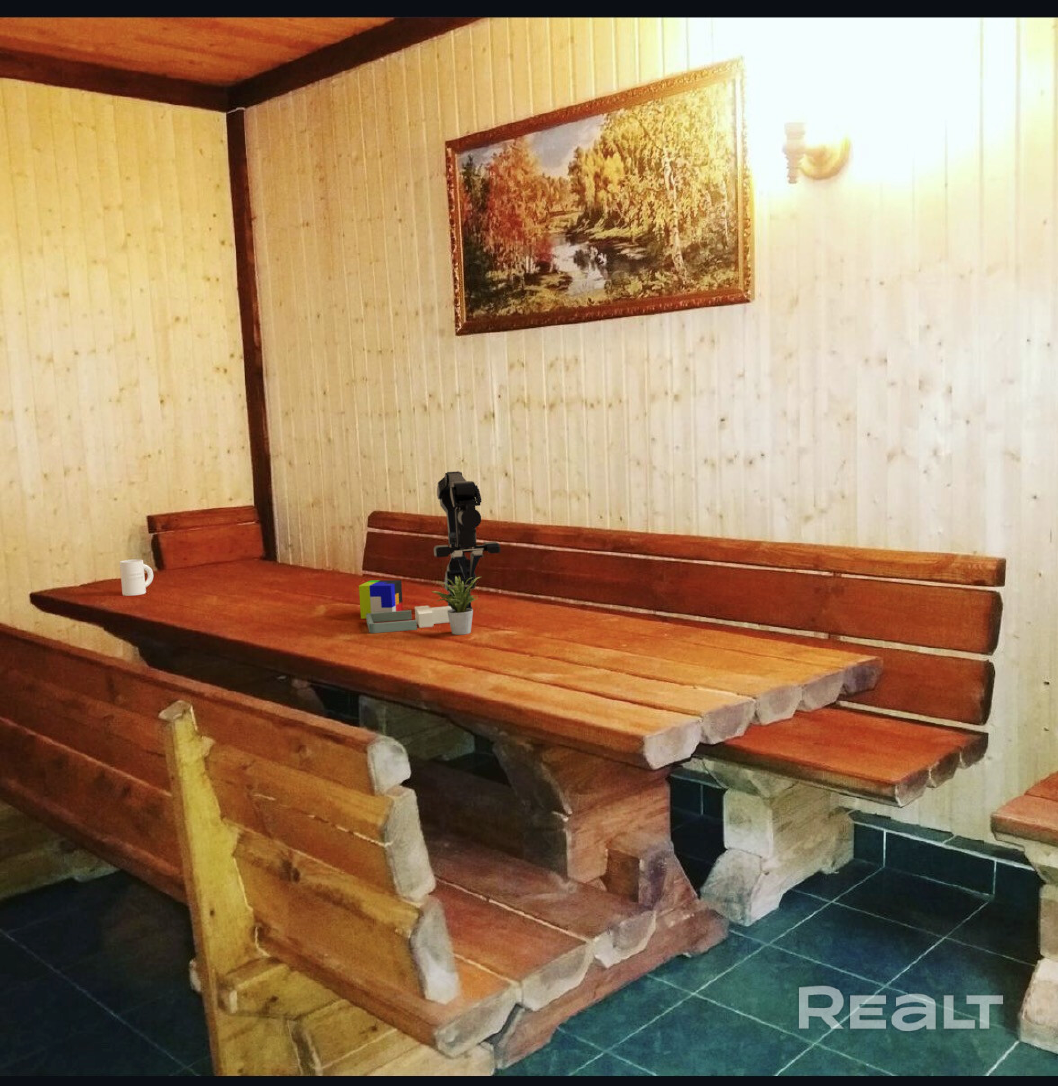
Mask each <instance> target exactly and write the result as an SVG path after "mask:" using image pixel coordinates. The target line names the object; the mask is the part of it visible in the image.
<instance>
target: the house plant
mask: <svg viewBox="0 0 1058 1086" xmlns="http://www.w3.org/2000/svg"><path fill="white" fill-rule="evenodd" d="M472 578H473V577H472ZM480 578H481V576H478V577H476V578H475V579H474V580H473V581H472V582H471V583H470V585H469V586H468V588H467V589H466V590H465V592H464V588H465V585H466V583H467V581H468V580H469V579H471V578H469V579H468V580H467V581H466V583H465V585H464V583H463V581H462V586H461V579H460V576H459V579H458V578H457V577H456V576H455V580H456V586H455V585H454V584H453V582H451V581H450V580H449V579H448V578H447V579H448V580H449V581H450V582H451V583H452V585H453V587H454V589H452V588H451V587H450V586H451V585H448V584H447V583H445V581H440V580H439V581H438V580H437V582H439V584H438V585H441V586H442V587H443V588H444V589H445V590H446V591H447V589H446V588H445V586H446V585H447V586H448V587H449V588H450V590H451V591H452V592H453V593H454V595H455V596H453V594H452V593H450V592H451V591H450V590H448V591H447V592H448V593H447V594H449V593H450V594H451V595H452V596H451V597H450V596H449V595H447V594H446V593H443V592H441V591H436V590H432V591H431V593H434V594H437V596H439V597H440V599H438V600H437V602H439V601H445V602H446V603H447V604H448V603H449V604H450V603H451V604H450V605H451V606H452V607H453V606H454V607H453V609H451V610H448V611H447V612H448V617H449V622H448V623H449V625H450V626H449V627H450V630H451V634H452V635H458V636H460V635H461V636H462V635H468V634H470V633H471V632H472V624H473V623H472V622H473V614H474V609H473V608H472V609H469V608H467V606H468V604H469V603H470V602H471V603H472V602H473V601H477V600H479V597H478V595H476V597H475V595H472V594H471V595H470V596H469V594H470V593H471V592H472V590H473V589H470V588H471V586H472V585H473V583H474V582H475V583H476V582H477V580H478V579H480ZM447 586H446V587H447ZM448 587H447V588H448ZM474 587H475V588H476V585H475V586H474ZM474 587H473V588H474ZM449 588H448V589H449ZM475 588H474V589H475ZM469 590H470V593H469ZM468 593H469V594H468ZM461 594H462V598H461ZM467 596H468V597H467ZM452 597H453V598H454V599H453V598H452ZM466 598H467V599H466Z"/></svg>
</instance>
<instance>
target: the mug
mask: <svg viewBox="0 0 1058 1086" xmlns="http://www.w3.org/2000/svg"><path fill="white" fill-rule="evenodd" d="M119 569H120V581H121V591H122V592H121V593H122V596H126V597H127V596H139V595H144V594H146V593H147V589H146V588H148V586H149V585H151V584H152V582H153V579H154V571H153V569H152V567H150V565H148V564H145V563H144V560H143V559H141V558H140V559H139V558H138V559H137V558H136V559H135V558H134V559H126V560H120V561H119ZM145 571H146V573H147V578H145ZM145 579H146V580H145Z"/></svg>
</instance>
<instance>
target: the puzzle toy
mask: <svg viewBox="0 0 1058 1086" xmlns="http://www.w3.org/2000/svg"><path fill="white" fill-rule="evenodd" d="M358 593H359V596H358V597H359V607H360V611H359V612H360V619H366V614H368V613H381V612H394V611H404V607H403V606H404V604H403V588H402V580H401V579H392V580H391V579H389V580H387V579H383V580H382V579H381V580H379V579H377V580H374V579H373V580H369V581H366V582H364V583H362V584H360V585H358Z"/></svg>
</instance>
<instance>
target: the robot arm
mask: <svg viewBox="0 0 1058 1086" xmlns="http://www.w3.org/2000/svg"><path fill="white" fill-rule="evenodd" d="M436 496H437V500H439V504H440V505H439V506H440V508H441V509H442V510H443V511H444V513H445V515H446V523H447V524H446V526H447V532H448V533H447V538H448V539H447V541H448V544H441V545H435V546H434V547H433V555H434V557H436V558H447V557H449V556H450V560H449V563H448V564H447V566H446V571H445V573H444V575H445V576H444V583H447V584H448V585H449V586H450V587H451V588H452V589H454V587H453V585H452V583H451V582H453V584H454V585H455V586H456V580H455V576H456V577H457V578H458V579H459V576H460V579H461V586H462V581H463V583H464V585H465V583H466V581H467V580H468V579H469V578H471V579H469V580H468V581H467V583H466V585H465V588H464V592H465V590H466V589H467V588H468V586H469V585H470V583H471V582H472V581H473V580H474V579H475V578H477V577H476V576H477V575H476V573H475V572H476V568H477V565H478V563H479V562H480V559H481V558H484V554H483V553H484V552H488V554H500V553H501V545H500V543H499V542H497V541H484V542H483V544H480V545H478V544H477V542H478V541H477V528H478V527H479V525H480V524H481V522H482V515H481V512H480V511H478V510H477V509H476V507H478V506H479V507H480V506H481V503H482V495H481V492H480V489H479V488H478V485H476V483H475V481H474V480H473V481H472V480H466V478H465V477H464V476H463V472H462V471H458V470H457V471H447V472H445V473H444V477H443V478H441V479H440V480H439V481H438V482H437V487H436ZM465 553H469V554H470V556H469V557H470V559H469V558H467V556H466V554H465ZM472 577H473V578H472ZM447 578H448V579H449V580H450V581H451V582H450V581H449V580H448V579H447ZM446 586H447V585H446ZM446 586H445V585H444V587H445V588H446V589H447V590H446V589H445V588H444V589H445V590H446V592H448V593H447V595H449V596H450V597H451V596H452V595H451V594H450V593H452V594H453V596H455V595H454V593H453V592H452V591H451V590H450V588H449V587H448V586H447V587H448V588H449V589H448V588H447V587H446ZM474 586H475V587H474ZM473 587H474V588H473ZM475 588H476V581H475V582H474V583H473V585H472V586H471V588H470V590H469V593H470V594H469V593H468V594H469V596H470V595H472V594H471V592H470V591H471V590H474V589H475ZM448 590H450V591H451V592H450V593H449V591H448ZM467 597H468V596H467ZM452 598H453V597H452ZM461 598H462V594H461ZM453 599H454V598H453ZM466 599H467V598H466ZM450 604H451V603H450ZM450 604H449V603H447V606H450V607H451V608H452V609H453V607H454V606H453V607H452V606H451V605H450ZM467 608H469V609H473V607H472V602H470V603H469V604H468V606H467Z"/></svg>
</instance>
